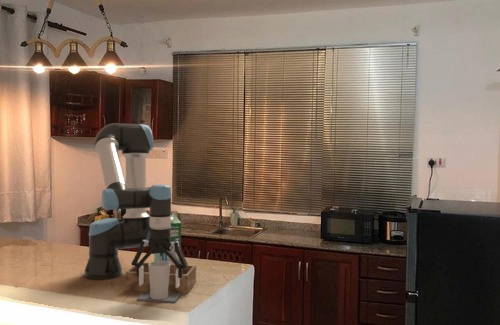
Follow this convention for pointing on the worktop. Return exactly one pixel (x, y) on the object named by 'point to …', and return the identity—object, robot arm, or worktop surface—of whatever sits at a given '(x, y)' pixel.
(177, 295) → the slate mat
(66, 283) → the worktop surface
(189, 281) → the crate
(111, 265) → the robot arm
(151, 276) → the cup
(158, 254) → the milk carton
